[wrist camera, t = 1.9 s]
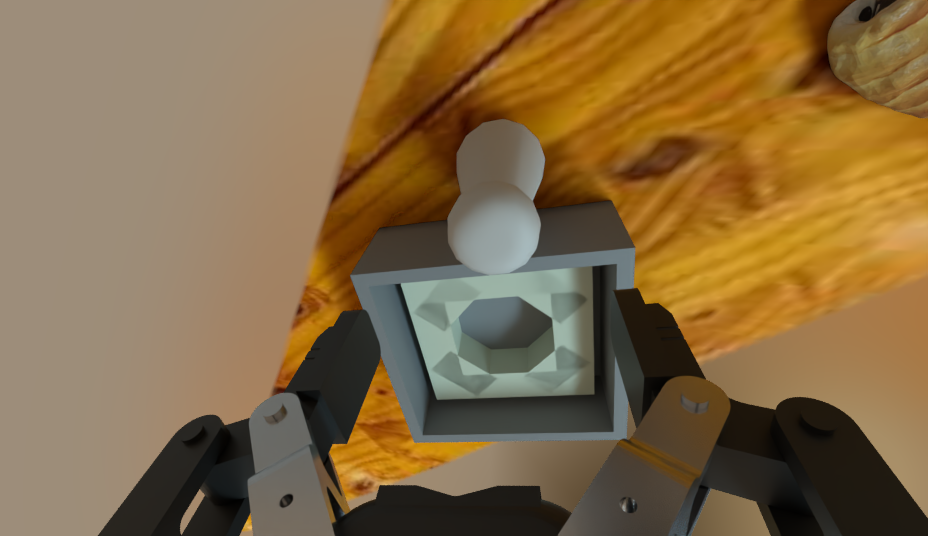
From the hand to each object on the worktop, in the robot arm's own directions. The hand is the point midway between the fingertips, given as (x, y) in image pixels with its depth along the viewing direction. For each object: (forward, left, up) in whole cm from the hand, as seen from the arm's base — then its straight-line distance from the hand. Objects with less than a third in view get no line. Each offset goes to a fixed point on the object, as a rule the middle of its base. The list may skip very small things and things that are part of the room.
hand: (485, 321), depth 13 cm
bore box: (+13, -1, -18) cm, 23 cm away
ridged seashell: (-4, +23, -19) cm, 30 cm away
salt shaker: (0, 0, -18) cm, 18 cm away
